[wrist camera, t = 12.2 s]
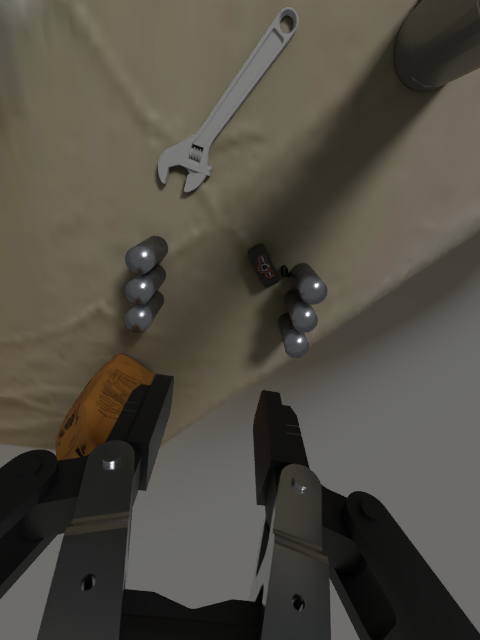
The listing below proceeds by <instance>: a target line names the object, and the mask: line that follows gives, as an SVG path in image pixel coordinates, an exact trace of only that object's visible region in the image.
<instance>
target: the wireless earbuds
mask: <svg viewBox="0 0 480 640" xmlns="http://www.w3.org/2000/svg"><path fill="white" fill-rule="evenodd" d="M248 256H249V259H250V260H251V262H252V264H253V266H254V268H255V270H256V272H257V274H258V276H259V278H260V280H261V282H262V284H263V286H264V287H266V288H268V287H270V286H272V285H274V284H276V283H278V282H279V281H280V278H279V275H278V273H277V271H276V269H275V267H274V265H273V263H272V261H271V259H270V257H269V255H268V252H267V250H266V248H265V246H264V245H263V244H262V243H259V244H257V245H255V246H254V247H252V248H250V249H249V250H248ZM281 276H282V277H290V276H291V273H290V272H289V273H288V268H287V267H286V266H285V265H283V266H281Z"/></svg>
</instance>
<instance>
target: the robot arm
mask: <svg viewBox="0 0 480 640" xmlns="http://www.w3.org/2000/svg"><path fill="white" fill-rule="evenodd" d="M395 65H396V70H397V73H398V75H399V77H400V79H401V80H402V82H403V83H404V84H405V85H406V86H408V87H409V88H411V89H413V90H416V91H423V92H425V91H431V90H434V89H436V88H439V87H441V86H443V85H445V84H447V83H449V82H451V81H453V80H455V79H457V78H460V77H462V76H464V75H466V74H468V73H470V72H472V71H474V70H476V69H478V68H480V0H421V2H420V3H419V4H418V5H417V6H416V7H415V8H414V9H413V10H412V11H411V13H410V14H409V15H408V17H407V18H406V20H405V21H404V23H403V25H402V27H401V29H400V31H399V34H398V37H397V41H396V46H395ZM173 384H174V376H168V375H161V374H156V375H155V378H154V380H153V382H152V384H151V385H145V384H141V385H139V386H138V387H137V388H136V389H134V390H133V391H132V392H131V394H130V396H129V398H128V400H127V403H126V404H125V405H124V407H123V410H122V411H121V413H120V415H119V417H118V419H117V421H116V423H115V425H114V426H113V428H112V430H111V432H110V434H109V436H108V438H107V440H106V441H105V442H104V443H102V444H100V445H98V446H97V447H95V448H94V449H93V450H92V452H91V453H90V454H89V455H86V456H83V457H78V458H72V459H66V460H59V461H57V458H56V456H55V455H54V454H53V453H52V452H50V451H47V450H32V451H28V452H25V453H23V454H20V455H18V456H17V457H15V458H14V459H12V460H11V461H9V462H8V463H7V464H5V465H4V466H3V467H1V468H0V599H1V598H2V597H3V595H4V594H5V593H6V592H7V591H8V590H9V589H10V588H11V586H12V585H13V584H14V583H15V582H16V581H17V580H18V579H19V577H20V576H21V575H22V574H23V573H24V572H25V571H26V570H27V568H28V567H29V566H30V565H31V564H32V563H33V562H34V561H35V559H36V558H37V557H38V556H39V555H40V554H41V553H42V552H43V550H44V549H45V548H46V547H47V546H48V545H49V544H50V542H51V541H52V540H53V539H54V538H55V537H56V536H57V535H58V534H62V533H64V536H63V540H62V544H61V548H60V551H59V555H58V559H57V563H56V567H55V571H54V575H53V578H52V582H51V586H50V590H49V594H48V598H47V602H46V606H45V609H44V614H43V617H42V621H41V625H40V629H39V633H38V637H37V640H331V624H330V623H331V622H330V584H329V583H330V581H329V577H330V579H331V581H332V583H333V585H334V587H335V589H336V591H337V593H338V596H339V597H340V600H341V602H342V604H343V606H344V608H345V610H346V612H347V614H348V616H349V618H350V620H351V622H352V624H353V626H354V628H355V630H356V632H357V634H358V637H359V638H360V640H480V634H479V632H478V631H477V630H476V628H475V627H474V625H473V624H472V623H471V621H470V620H469V619H468V618H467V616H466V615H465V613H464V612H463V611H462V609H461V608H460V607H459V605H458V604H457V603H456V601H455V600H454V599H453V597H452V596H451V595H450V593H449V592H448V591H447V589H446V588H445V587H444V585H443V584H442V583H441V581H440V580H439V579H438V577H437V576H436V575H435V573H434V572H433V571H432V569H431V568H430V567H429V565H428V564H427V563H426V561H425V560H424V559H423V557H422V556H421V555H420V553H419V552H418V550H417V549H416V548H415V547H414V545H413V544H412V542H411V541H410V540H409V539H408V537H407V536H406V535H405V533H404V532H403V530H402V529H401V528H400V526H399V525H398V524H397V522H396V521H395V520H394V518H393V517H392V516H391V514H390V513H389V512H388V510H387V509H386V508H385V506H384V505H383V504H382V503H381V502H380V501H379V500H378V499H376V498H375V497H374V496H372V495H370V494H368V493H365V492H361V491H356V492H353V493H351V494H350V495H349V496H348V498H346V497H344V496H342V495H340V494H337V493H335V492H333V491H331V490H329V489H327V488H325V487H324V486H322V485H321V484H320V481H319V479H318V477H317V476H316V475H315V474H314V472H312V471H311V470H310V468H309V465H308V461H307V457H306V452H305V448H304V445H303V440H302V436H301V431H300V428H299V423H298V419H297V415H296V414H295V413H294V411H293V410H292V408H291V407H290V406H285V405H282V402H281V397H280V393H278V392H272V391H266V390H263V391H262V392H261V395H260V399H259V403H258V407H257V410H256V414H255V418H254V425H253V436H254V437H253V438H254V457H255V478H256V497H257V498H256V499H257V505H264V506H265V510H266V516H265V519H264V522H263V527H262V533H261V538H260V544H259V550H258V556H257V561H256V567H255V573H254V578H253V583H252V587H251V592H250V595H249V599H248V601H243V600H228V601H224V602H220V603H216V604H213V605H209V606H205V607H201V608H197V609H190V608H187V607H185V606H183V605H181V604H179V603H177V602H174V601H172V600H170V599H168V598H166V597H163V596H161V595H159V594H157V593H155V592H149V591H138V590H128V589H127V588H126V587H127V572H128V559H129V546H130V533H131V520H132V507H133V504H134V502H135V499H136V496H137V493H138V490H143V491H146V489H147V486H148V483H149V479H150V476H151V473H152V470H153V466H154V463H155V460H156V457H157V454H158V450H159V447H160V444H161V441H162V438H163V434H164V431H165V428H166V425H167V421H168V418H169V414H170V409H171V402H172V393H173Z"/></svg>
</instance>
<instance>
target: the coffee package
mask: <svg viewBox="0 0 480 640" xmlns="http://www.w3.org/2000/svg"><path fill="white" fill-rule="evenodd" d="M153 378H154V374H153V373H152V372H151V371H150V370H148V369H147V368H145V367H144V366H142V365H141V364H139V363H138V362H136V361H134V360H133V359H132V358H130V357H128V356H125V355H123V354H121V353H119V354H117V355H116V356H114V357H113V358H112V359H111V360H110V361H109V362H108V363H107V364H105V365H104V366H103V367H102V368H101V369H100V370H99V371H98V372H97V373H96V374H95V376H94V377H93V378H92V379H91V380H90V381H89V383H88V384H87V386H86V387H85V388H84V390H83V391H82V393H81V394H80V396H79V397H78V399H77V400H76V402H75V403H74V405H73V406H72V408H71V409H70V411H69V412H68V414H67V416H66V418H65V420H64V421H63V423H62V426H61V428H60V431H59V433H58V436H57V440H56V458H57V461H59V460H66V459H72V458H78V457H83V456H86V455H89V454H90V453H91V452H92V450H93V449H94V448H95V447H97V446H98V445H100V444H102V443H104V442H105V441H106V440H107V438H108V436H109V434H110V432H111V430H112V428H113V426H114V425H115V423H116V421H117V419H118V417H119V415H120V413H121V411H122V410H123V407H124V405H125V404H126V403H127V400H128V398H129V396H130V394H131V392H132V391H133V390H134V389H136V388H137V387H138V386H139V385H141V384H145V385H150V384H151V382H152V380H153Z"/></svg>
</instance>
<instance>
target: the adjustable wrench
mask: <svg viewBox="0 0 480 640" xmlns="http://www.w3.org/2000/svg"><path fill="white" fill-rule="evenodd" d="M284 16H290V17H291V18H292V20H293V29H292V31H291V32H290V33H288V34H285V33H283V32H282V31H281V29H280V21H281V19H282V18H283V17H284ZM297 27H298V15H297V13H296V11H295V10H294V9H293V8H291V7H285V8H284V9H282V10H281V11H280V12H279V14H278V15H277V17H276V18H275V20H274V21H273V23H272V24H271V26H270V27H269V28H268V30H267V31H266V33H265V34H264V36H263V37H262V39H261V40H260V42H259V43H258V45H257V46H256V48H255V49H254V51H253V52H252V53H251V55H250V56H249V58H248V59H247V61H246V62H245V64H244V65H243V67H242V68H241V70H240V71H239V73H238V74H237V76H236V77H235V79H234V80H233V81H232V83H231V84H230V86H229V87H228V89H227V90H226V92H225V93H224V95H223V96H222V98H221V99H220V101H219V102H218V104H217V105H216V106H215V108H214V109H213V111H212V112H211V114H210V115H209V117H208V118H207V120H206V121H205V123H204V124H203V126H202V127H201V128H200V129H199V131H198V132H196V133H195V134H194V135H193V136H191V137H189V138H188V139H186V140H185V141H183V142H181V143H179V144H177V145H174V146H172V147H170V148H168V149H166V150H165V151H164V152H163V153H162V155H161V157H160V159H159V162H158V173H159V177H160V179H161V182H162V183H164V184H167V180H168V176H169V171H170V167H174V166H178V165H181V166H184V167H185V168H186V169H187V170H188V172H189V173H190V174H188V175H187V179H186V184H185V188H184V191H185V192H190V191H193V190H195V189H196V188H198V187H199V186H200V185H201V184H202V182H203V181H204V180H205V178H206V177H207V175H208V176H210V172H211V169H212V167H211V166H210V167H209V166H208V159H209V151H210V148H211V146H212V144H213V142H214V141H215V139H216V138H217V136H218V135H219V134H220V132H221V131H222V130H223V128H224V127H225V126H226V125H227V123H228V122H229V121H230V119H231V118H232V117H233V115H234V114H235V113H236V111H237V110H238V109H239V107H240V106H241V105H242V103H243V102H244V101H245V99H246V98H247V97H248V95H249V94H250V93H251V91H252V90H253V89H254V87H255V86H256V85H257V83H258V82H259V81H260V79H261V78H262V77H263V75H264V74H265V73H266V72H267V70H268V69H269V68H270V66H271V65H272V64H273V62H274V61H275V60H276V58H277V57H278V56H279V54H280V53H281V52H282V50H283V49H284V48H285V46H286V45H287V44H288V42H289V41H290V40H291V38H292V37H293V36H294V34H295V32H296V30H297ZM193 144H194V145H196V146H199V147H201V148H203V151H202V152H201V149H200V151H199V150H198V148H197V150H196V149H195V148H196V147H194V148H193ZM197 160H198V161H197Z"/></svg>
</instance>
